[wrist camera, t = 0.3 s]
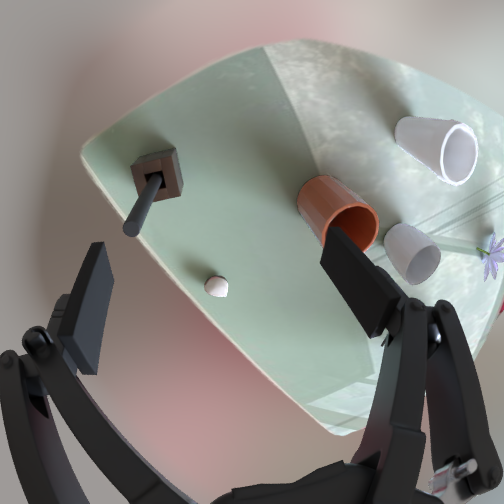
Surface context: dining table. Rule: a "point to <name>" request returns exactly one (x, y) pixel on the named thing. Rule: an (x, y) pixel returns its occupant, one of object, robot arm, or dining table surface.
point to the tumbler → (337, 211)
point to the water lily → (492, 257)
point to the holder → (158, 162)
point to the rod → (142, 205)
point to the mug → (411, 253)
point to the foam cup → (439, 146)
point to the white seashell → (216, 286)
